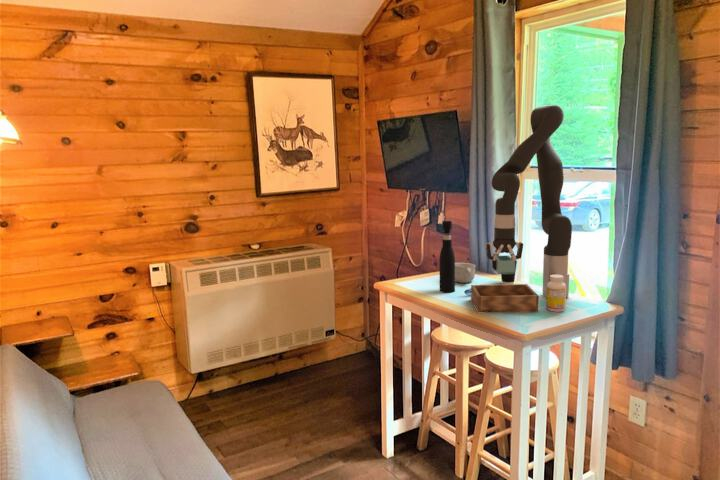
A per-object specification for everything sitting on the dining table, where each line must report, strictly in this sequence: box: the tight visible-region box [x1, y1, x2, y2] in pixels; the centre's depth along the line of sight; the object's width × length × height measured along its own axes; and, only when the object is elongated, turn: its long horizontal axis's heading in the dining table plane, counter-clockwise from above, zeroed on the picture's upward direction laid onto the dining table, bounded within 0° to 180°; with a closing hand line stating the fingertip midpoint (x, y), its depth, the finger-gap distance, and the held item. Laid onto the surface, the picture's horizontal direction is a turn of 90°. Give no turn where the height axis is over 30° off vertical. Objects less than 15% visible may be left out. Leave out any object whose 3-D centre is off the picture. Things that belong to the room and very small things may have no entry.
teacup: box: [455, 262, 477, 284], centre depth 242 cm, size 14×11×8 cm
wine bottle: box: [439, 220, 456, 294], centre depth 227 cm, size 6×6×30 cm
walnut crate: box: [470, 283, 540, 313], centre depth 207 cm, size 22×17×6 cm
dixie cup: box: [500, 259, 519, 285], centre depth 238 cm, size 8×8×11 cm
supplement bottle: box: [546, 275, 567, 313], centre depth 199 cm, size 7×7×13 cm
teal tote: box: [494, 254, 516, 275], centre depth 204 cm, size 6×10×5 cm, turn 177°
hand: (503, 269), depth 205 cm, fingers closed on teal tote, 6 cm apart
